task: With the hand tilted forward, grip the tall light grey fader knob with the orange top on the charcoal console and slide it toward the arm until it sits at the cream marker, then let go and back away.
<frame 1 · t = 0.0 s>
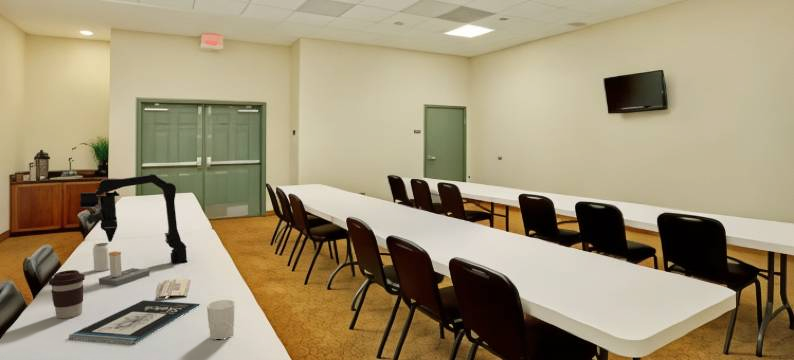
hand: (110, 239, 206), 15 cm above the table, fingers open, 9 cm apart
white cup: (222, 336, 138), on the table
sketchbook: (139, 323, 150), on the table
coffee cup: (69, 315, 155), on the table
fader knob: (115, 264, 190), point 8 cm above the table, slide at 4.0 cm
can: (102, 270, 209), on the table
console: (125, 279, 194), on the table
open book: (172, 292, 180), on the table
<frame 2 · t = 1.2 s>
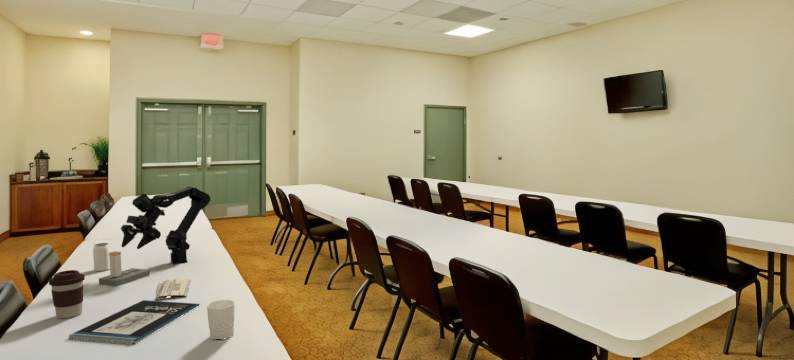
hand: (129, 247, 196), 13 cm above the table, fingers open, 9 cm apart
nothing on the table moved.
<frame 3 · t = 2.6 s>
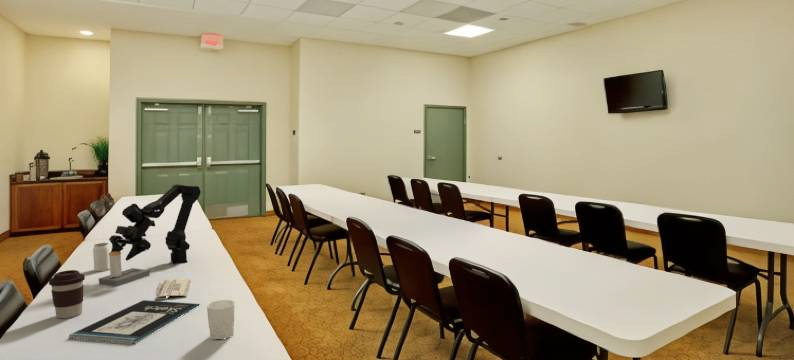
hand: (118, 259, 191), 10 cm above the table, fingers open, 9 cm apart
nothing on the table moved.
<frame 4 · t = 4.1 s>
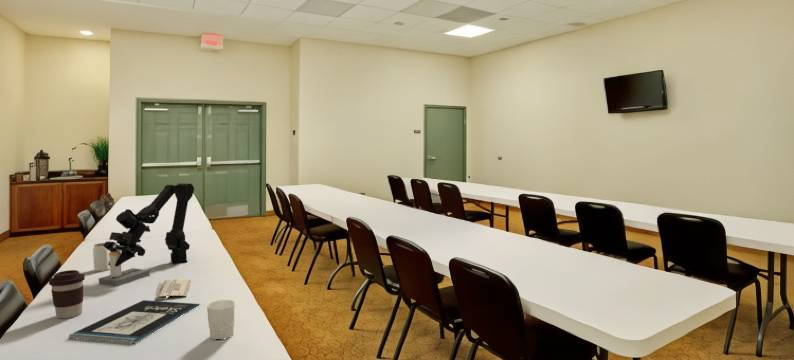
hand: (112, 265, 188), 8 cm above the table, fingers closed on fader knob, 3 cm apart
fader knob: (115, 264, 190), point 8 cm above the table, slide at 4.0 cm, touching gripper
everything else where it was.
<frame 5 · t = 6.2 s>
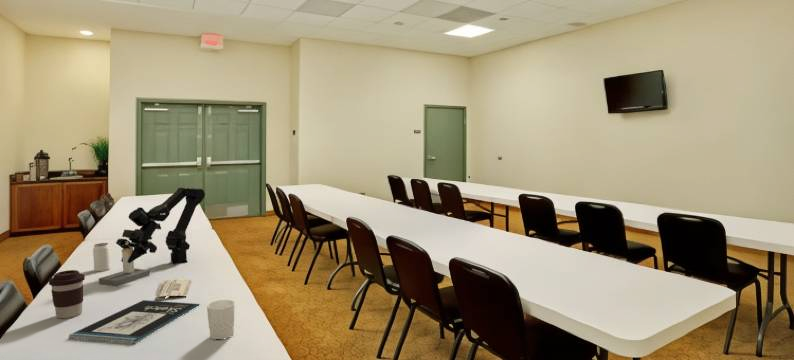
hand: (125, 262, 194), 8 cm above the table, fingers closed on fader knob, 3 cm apart
fader knob: (128, 260, 195), point 8 cm above the table, slide at -2.0 cm, touching gripper
everything else where it was.
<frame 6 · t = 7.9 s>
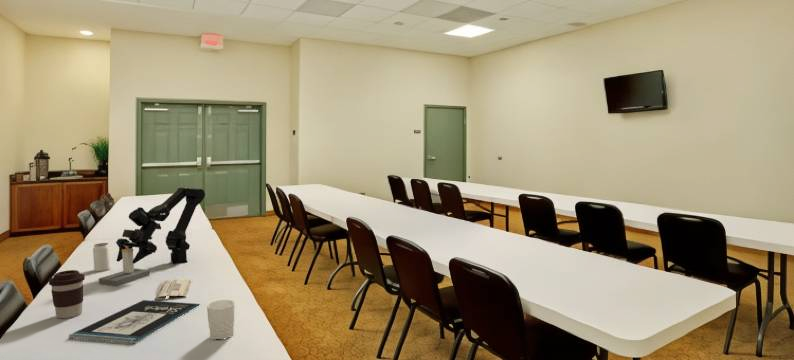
hand: (125, 262, 194), 8 cm above the table, fingers open, 9 cm apart
fader knob: (128, 260, 195), point 8 cm above the table, slide at -2.0 cm
everything else where it was.
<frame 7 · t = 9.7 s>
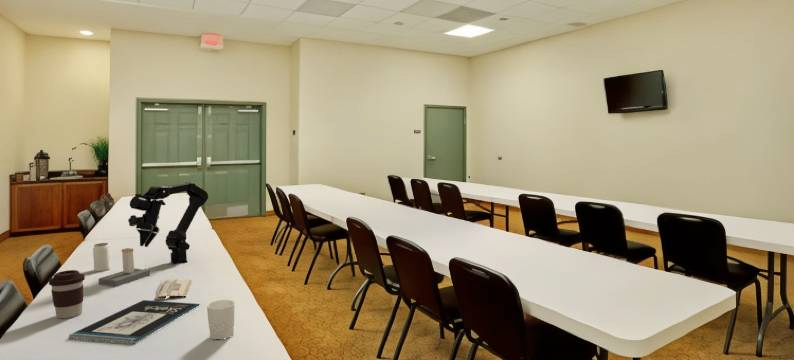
hand: (143, 246, 204), 12 cm above the table, fingers open, 9 cm apart
nothing on the table moved.
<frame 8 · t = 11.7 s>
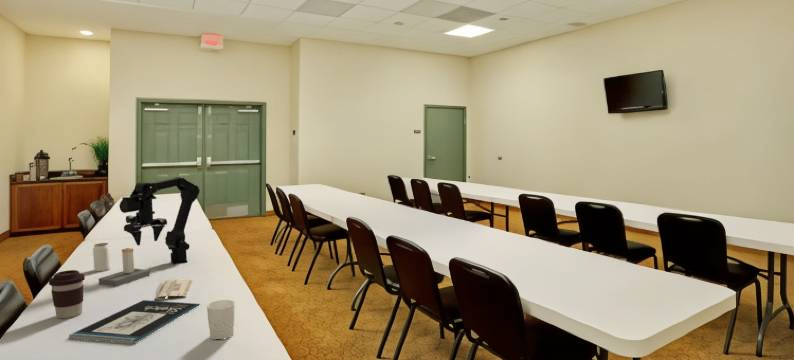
hand: (147, 243, 206), 13 cm above the table, fingers open, 9 cm apart
nothing on the table moved.
at the end: fader knob slide at -2.0 cm; the gripper is holding nothing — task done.
